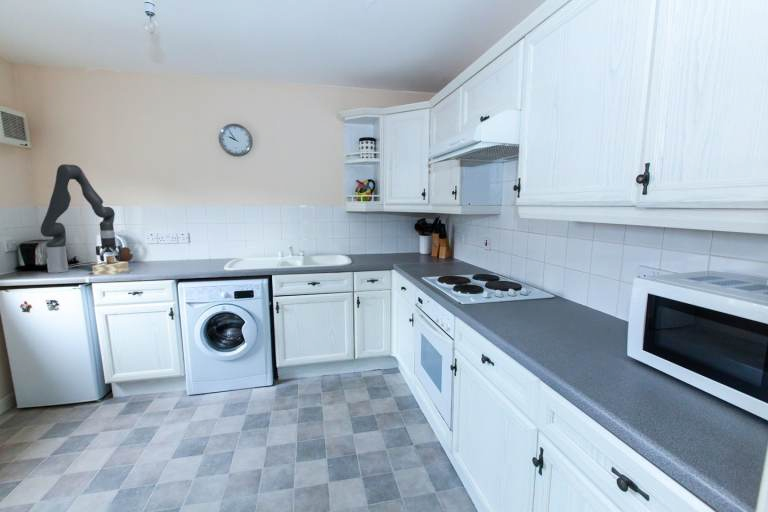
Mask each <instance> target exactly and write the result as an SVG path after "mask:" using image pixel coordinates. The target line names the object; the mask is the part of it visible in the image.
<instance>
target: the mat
mask: <svg viewBox="0 0 768 512" xmlns="http://www.w3.org/2000/svg"><path fill="white" fill-rule="evenodd" d="M136 270H137V269H133V268H132V269H129V270H127V271H125V272H122V273H120V274H119V275H124V274H125V275H126V274H130V273H132V272H134V271H136ZM101 275H105V274H101ZM85 276H94V275H93V271H92V272H89V273H87V274H85Z"/></svg>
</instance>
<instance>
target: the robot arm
mask: <svg viewBox="0 0 768 512" xmlns="http://www.w3.org/2000/svg"><path fill="white" fill-rule="evenodd" d="M71 180H75V181H76V182H77V184H78V185H80V187H81V192H82V196H83V197H84V199H85V200H86V201H87V202H88V203H89V204H90V206H91V208H92V210H93V213H94V214H95V215H96V216H97V217H98V218H102V221H100V222H99V232H100V234H99V235H100V244H101V245H97V246H95V255H96V256H99V259H100V261H101V263H103V262H105V256H104V255H105V253H113V254H114V255H117V256H116V258H115V260H116V262H119V260H120V255H121V254H123V251H122V248H123V246H122V245H117V244H116V242H117V241H116V233H115V230H114V223H115V222H114V221H115V213H116V212H115V210H114V209H113V208H112V207H111V206H103V203H104V201H103V198H102V197H101V196H100V195H99V194H98V193H97V191H96V190H95V189H94V188H93V186H92V185H91V183H90V181H89V180H88V178H87V177H86V175H85V173H84V171H83V170H82V168H81V167H80V166H78V165H75V164H60V165H59V166H58V167H57V170H56V176H55V181H54V187H53V191H52V193H51V197H50V200H49V205H48V208H47V212H46V213H45V216H44V218H43V221H42V223H41V225H40V234H41V235H42V236H43V237H44V238H46V237H47V238H52V239H51V240H50V241H47V242H46V243H45V245H46V252H47V258H46V266H47V271H48V273H49V274H50V273H51V274H55V273H66V272H68V271H69V264H68V256H67V250H66V241H67V235H66V228H65V225H64V224H63V223H62V222H57V221H58V219H59V218H60V217H61V216H62V215H63V214H64V213H65V212H66V211H67V210H68V209H69V207H70V204H71V200H72V197H71V194H70V192H69V190H68V189H69V182H70V181H71ZM101 249H102V250H101ZM118 251H119V252H118Z"/></svg>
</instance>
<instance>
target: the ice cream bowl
mask: <svg viewBox="0 0 768 512" xmlns="http://www.w3.org/2000/svg"><path fill="white" fill-rule="evenodd" d="M117 251H118V252H119V250H117ZM122 251H123V254H121V255H120V260H119V261H118V262H128V263H129V262H130V261H131V260H132V259H133V257H134V254H132V253H131V252H132V251H131V249H130V248H129V247H127V246H124V247H123V246H122ZM113 256H114V259H116V256H117V255H116V254H114V255H113ZM128 267H129V268H130V266H129V265H128Z"/></svg>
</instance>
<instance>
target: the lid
mask: <svg viewBox="0 0 768 512" xmlns="http://www.w3.org/2000/svg"><path fill="white" fill-rule="evenodd" d="M105 257H106V261H103V262H100V263H97V264H94V265H92V266H91V267H92V272H93V275H92V276H98V275H101V274H104V275H121V274H120V273H122V272H125V271H127V270H130V266H129V261H128V262H119V261H115V256H114V255H107V256H105ZM128 266H129V267H128Z"/></svg>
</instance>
